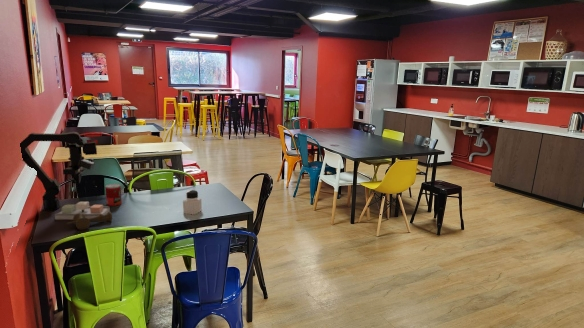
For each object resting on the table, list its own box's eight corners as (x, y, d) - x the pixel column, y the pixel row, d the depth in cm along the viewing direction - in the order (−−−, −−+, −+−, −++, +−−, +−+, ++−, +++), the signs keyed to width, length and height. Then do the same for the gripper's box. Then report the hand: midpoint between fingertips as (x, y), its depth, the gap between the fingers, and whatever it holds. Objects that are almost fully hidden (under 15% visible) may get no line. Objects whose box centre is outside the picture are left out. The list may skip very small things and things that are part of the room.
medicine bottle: (201, 211, 209) (201, 190, 206) (194, 215, 202) (193, 193, 200) (190, 209, 211) (190, 188, 209) (183, 213, 205) (182, 192, 202)
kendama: (114, 224, 188) (68, 232, 175) (109, 219, 195) (64, 226, 183) (113, 213, 187) (67, 220, 174) (108, 208, 194) (63, 214, 182)
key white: (76, 209, 194) (75, 204, 193) (80, 206, 199) (79, 201, 198) (85, 209, 194) (84, 204, 194) (89, 206, 199) (88, 201, 198)
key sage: (62, 212, 194) (61, 207, 193) (66, 209, 198) (66, 204, 198) (71, 212, 194) (70, 207, 194) (75, 209, 199) (75, 204, 198)
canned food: (116, 206, 211) (114, 187, 209) (103, 205, 213) (102, 186, 210) (124, 202, 218) (123, 184, 216) (112, 201, 220) (111, 183, 218)
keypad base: (55, 219, 191) (54, 212, 190) (67, 211, 202) (66, 204, 201) (100, 219, 192) (99, 212, 192) (109, 211, 204) (109, 204, 203)
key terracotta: (90, 212, 195) (90, 207, 194) (94, 209, 199) (93, 204, 199) (99, 212, 195) (99, 207, 195) (103, 209, 200) (102, 204, 199)
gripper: (83, 159, 197) (86, 188, 200) (98, 152, 215) (100, 178, 218) (61, 158, 196) (64, 187, 199) (78, 152, 214) (80, 178, 217)
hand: (78, 183), depth 208 cm, fingers closed
